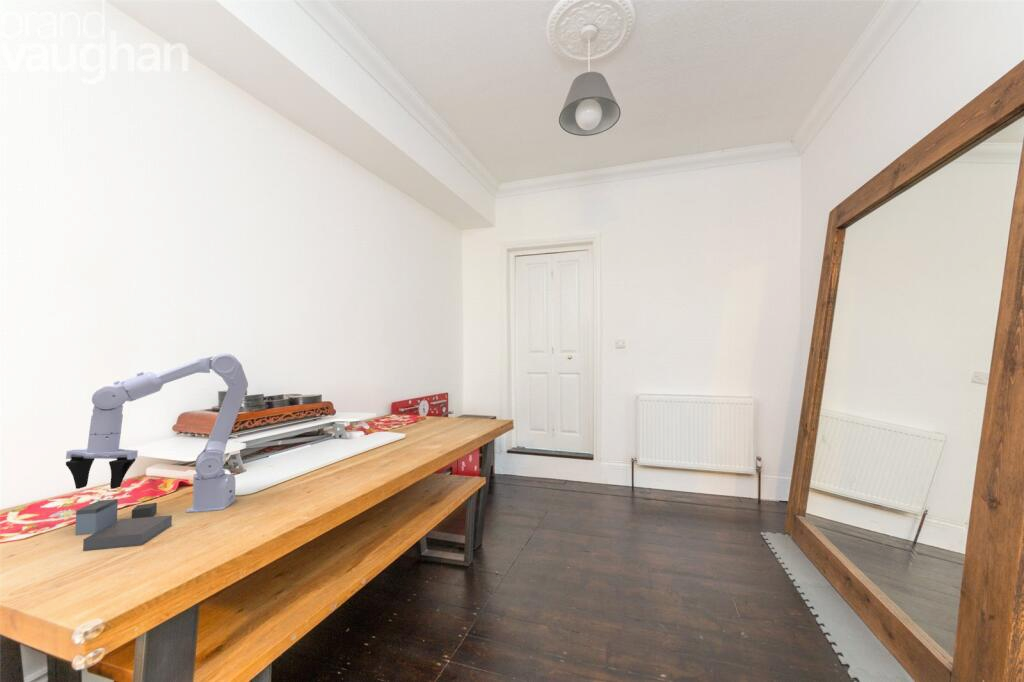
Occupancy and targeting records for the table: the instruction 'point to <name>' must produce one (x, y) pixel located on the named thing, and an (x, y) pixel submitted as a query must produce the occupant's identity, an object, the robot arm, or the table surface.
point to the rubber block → (144, 510)
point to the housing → (96, 516)
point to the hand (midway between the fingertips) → (98, 487)
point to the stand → (127, 532)
